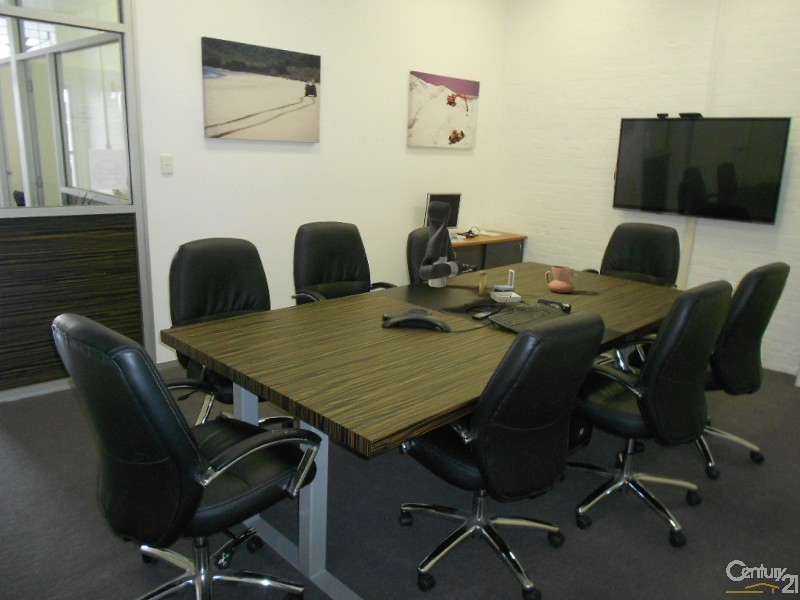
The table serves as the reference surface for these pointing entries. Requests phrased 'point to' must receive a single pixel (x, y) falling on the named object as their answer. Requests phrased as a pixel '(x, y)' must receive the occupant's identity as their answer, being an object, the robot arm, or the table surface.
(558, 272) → the ceramic jug
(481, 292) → the stop pin
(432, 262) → the robot arm
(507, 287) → the trolley
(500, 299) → the tray
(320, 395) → the table surface
